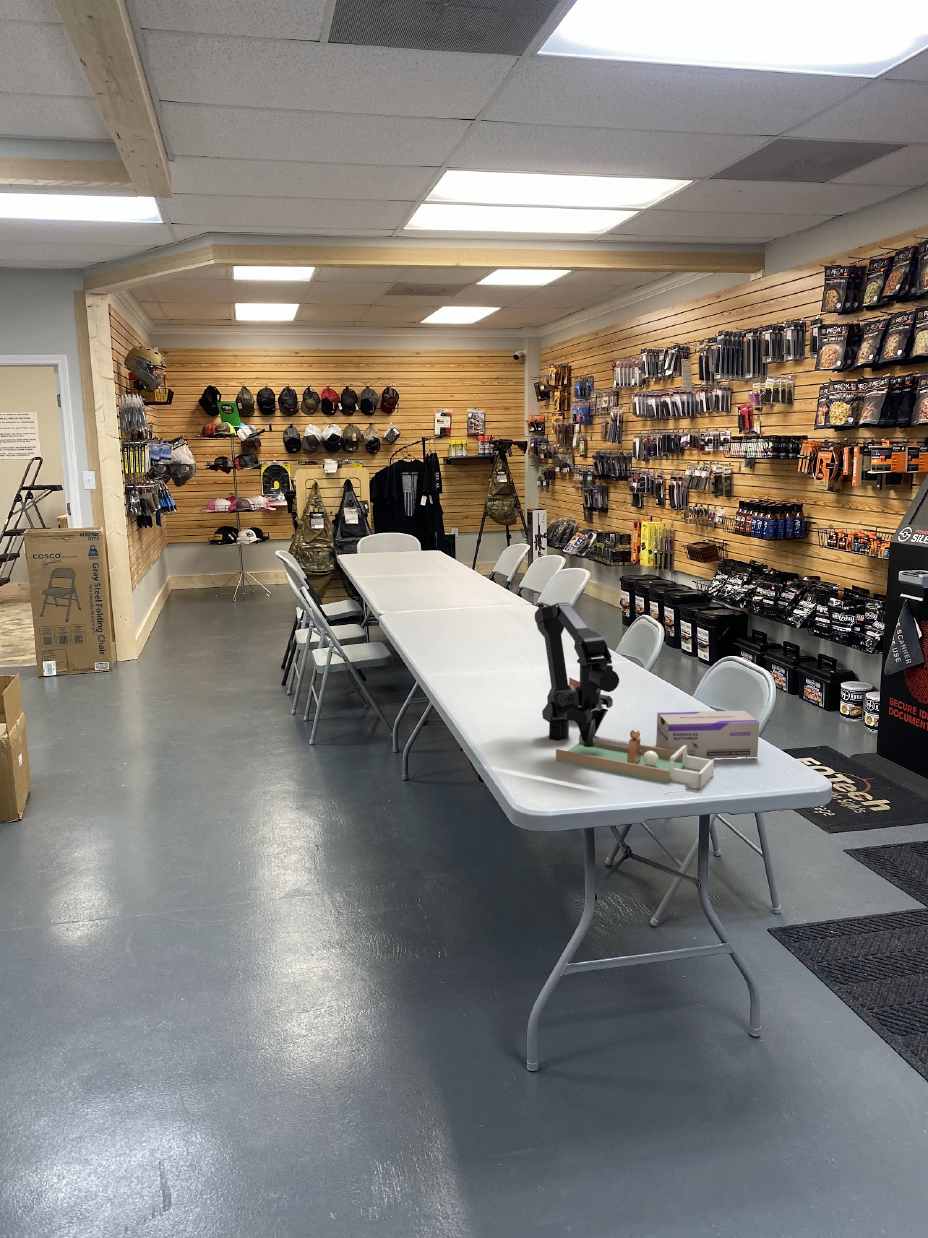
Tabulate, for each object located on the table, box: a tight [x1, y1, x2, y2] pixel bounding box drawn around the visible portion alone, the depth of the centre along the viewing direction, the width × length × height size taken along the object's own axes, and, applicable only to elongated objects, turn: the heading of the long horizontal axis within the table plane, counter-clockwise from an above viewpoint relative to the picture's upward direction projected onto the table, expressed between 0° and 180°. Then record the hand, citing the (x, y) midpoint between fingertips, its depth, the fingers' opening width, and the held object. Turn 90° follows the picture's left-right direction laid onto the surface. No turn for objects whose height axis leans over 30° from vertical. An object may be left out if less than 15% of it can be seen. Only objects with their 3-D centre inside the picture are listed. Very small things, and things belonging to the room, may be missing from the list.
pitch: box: [555, 733, 688, 784], centre depth 236 cm, size 16×31×4 cm, turn 59°
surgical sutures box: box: [655, 710, 760, 759], centre depth 245 cm, size 25×11×11 cm, turn 94°
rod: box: [583, 720, 641, 764], centre depth 237 cm, size 5×16×9 cm, turn 59°
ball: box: [643, 751, 658, 766], centre depth 232 cm, size 4×4×4 cm
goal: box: [669, 745, 715, 790], centre depth 226 cm, size 12×8×7 cm
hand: (588, 738), depth 240 cm, fingers open, 5 cm apart
